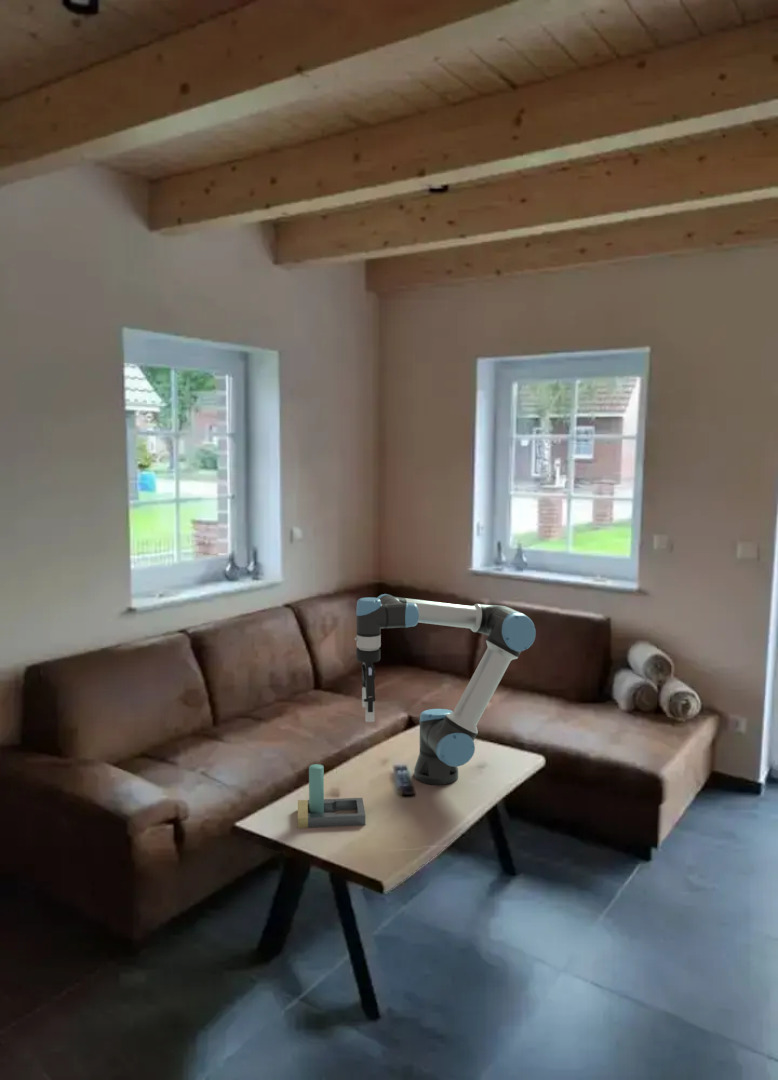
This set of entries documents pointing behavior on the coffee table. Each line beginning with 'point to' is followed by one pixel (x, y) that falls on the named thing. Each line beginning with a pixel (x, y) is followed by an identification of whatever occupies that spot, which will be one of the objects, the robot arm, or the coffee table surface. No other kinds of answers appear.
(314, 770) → the peg
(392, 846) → the coffee table surface
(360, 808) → the keyhole plate
